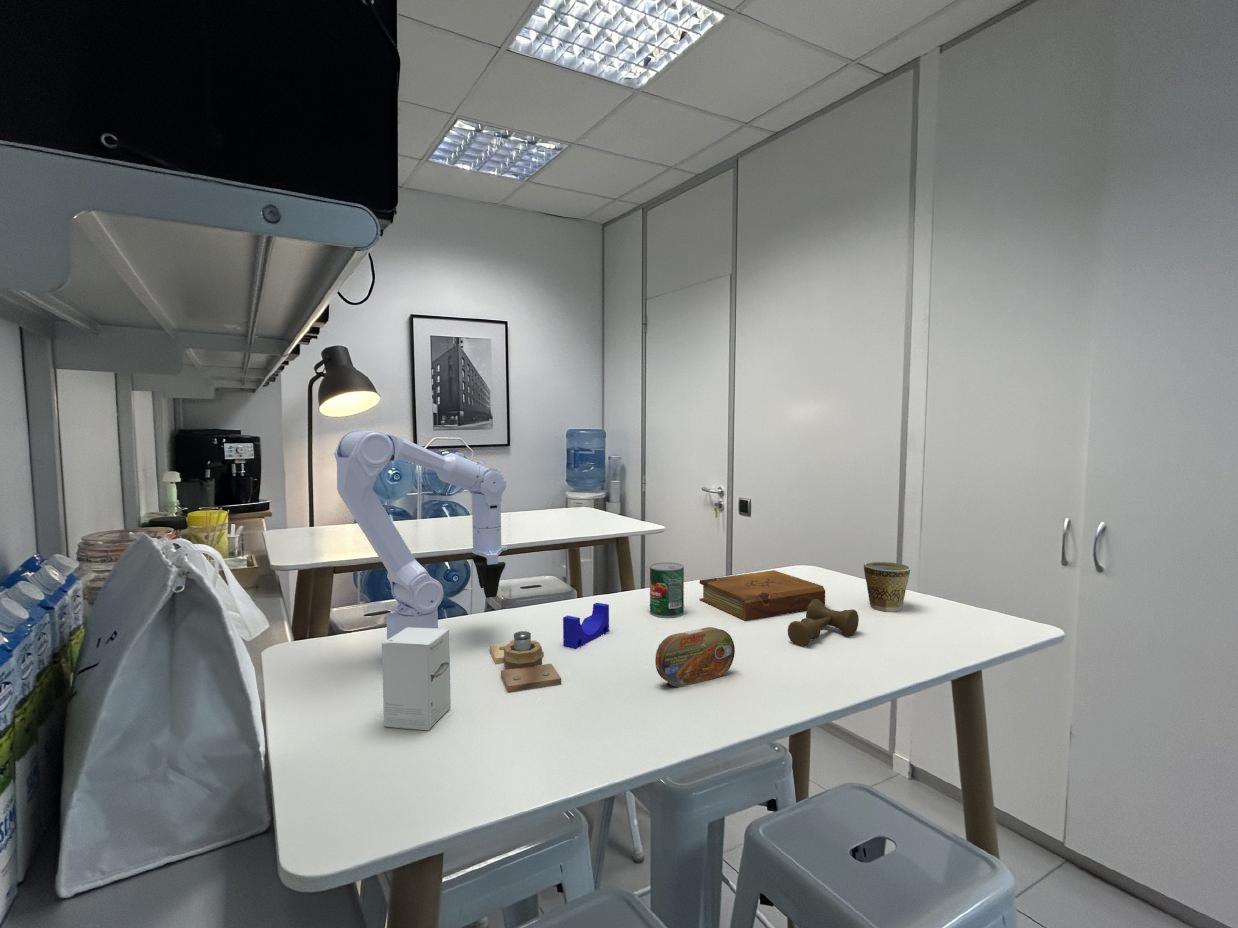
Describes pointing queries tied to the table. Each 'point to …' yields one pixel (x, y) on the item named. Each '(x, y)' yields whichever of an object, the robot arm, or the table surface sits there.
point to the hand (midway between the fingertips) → (488, 592)
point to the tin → (694, 656)
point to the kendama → (821, 623)
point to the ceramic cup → (886, 585)
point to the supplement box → (416, 678)
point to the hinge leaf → (516, 653)
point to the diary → (760, 594)
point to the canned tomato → (666, 589)
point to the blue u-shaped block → (586, 627)
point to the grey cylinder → (522, 641)
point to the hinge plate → (529, 675)
